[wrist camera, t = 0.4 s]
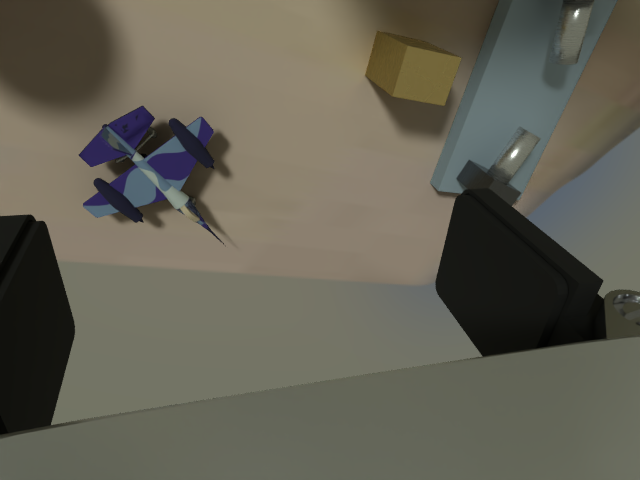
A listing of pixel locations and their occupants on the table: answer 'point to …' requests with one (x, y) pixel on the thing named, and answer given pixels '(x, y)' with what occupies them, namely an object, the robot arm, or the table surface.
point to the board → (514, 88)
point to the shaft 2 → (570, 31)
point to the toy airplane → (147, 166)
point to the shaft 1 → (501, 167)
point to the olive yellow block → (412, 68)
